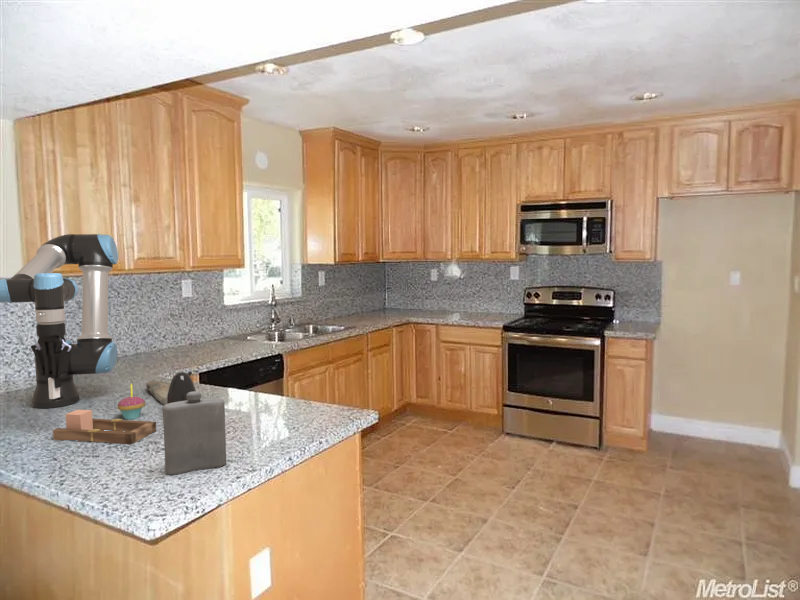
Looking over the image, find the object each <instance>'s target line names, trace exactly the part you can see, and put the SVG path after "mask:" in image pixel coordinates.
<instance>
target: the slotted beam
mask: <svg viewBox="0 0 800 600" xmlns="http://www.w3.org/2000/svg"><path fill="white" fill-rule="evenodd" d="M92 420H93V429H92V430H85V429H66V428H63V427H58V428H55V429H53V430H52V436H53V438H52V439H55V440H54V441H64V440H78V441H77V442H82V441H92V442H91V443H100V442H107V443H106V444H117V443H120V444H121V445H133V444H135V443H137V442H138V441H141V440H143V439H144V438H147V437H148V436H150V435H151V434H153V433H155V432H157V421H148V420H147V421H146V420H132V419H121V418H113V419H111V418H110V419H109V418H108V419H107V418H92ZM104 430H112V431H104ZM123 431H125V432H123ZM140 439H141V440H140Z"/></svg>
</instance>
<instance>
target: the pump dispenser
mask: <svg viewBox="0 0 800 600" xmlns="http://www.w3.org/2000/svg"><path fill="white" fill-rule="evenodd" d="M192 374H193V372H192V371H189V372H188V373H187V372H183V371H179V372H177V373H175V374H174V376H173V377H172V379H171V381H170V382H169V383H170V386H169V390H168V395H167V403H166V404H169V403H173V402H179V401H186V400H187V397H186V395H187V394H188V393H189V392H193V391H197V390H196V386H195V384H194V382H193V379H192V377H191V376H192Z"/></svg>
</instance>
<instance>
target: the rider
mask: <svg viewBox="0 0 800 600" xmlns="http://www.w3.org/2000/svg"><path fill="white" fill-rule="evenodd" d="M92 419H93V410H92V409H76V410H73V411H70V412H67V413H66V414H65V426H66V429H85V430H92V429H93V420H92Z"/></svg>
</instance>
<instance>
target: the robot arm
mask: <svg viewBox="0 0 800 600" xmlns="http://www.w3.org/2000/svg"><path fill="white" fill-rule="evenodd" d="M118 252H119V251H118V247H117V245H116V241H115V239H114V238H113V237H112V236H111V235H110V234H100V233H93V234H92V233H91V234H90V233H89V234H87V233H86V234H85V233H84V234H78V233H77V234H75V233H74V234H73V233H69V234H64V235H59V236H57V237H53V238H52V239H49V240H48V241H47V242H44V243H43V244H41V246H39V247H38V249H37V250H36V253H35V255H34V256H33V257H32V258H31V259H30V260H29V261H28V262H27V263H26V264H25V265H24V266H23V267H21V268H20V269H19V270H18V271H17V272H16V273H15V274H14V275H13V276H12V277H11V278H3V279H1V278H0V303H6V304H7V303H10V304H12V303H13V304H14V303H15V304H16V303H18V304H19V303H35V305H34V308H35V321H36V323H37V324H36V326H35V327H36V329H35V330H36V336H37V337H38V340H37V343H35V344H33V345H31V346H30V348H31V351H32V352H33V353H34V366H35V367H34V368H35V378H36V387H35V389H34V393H33V397H32V398H31V406H32V408H35V409H51V408H52V409H54V408H60V407H66V406H69V405H73V404H75V403H79V402H80V399H81V397H80V393H79V392H78V389H77V386H76V384H75V382H74V376H75V375H94V374H96V375H99V374H106V373H110V372H111V371H112V370H113V369H114V367H115V366H116V362H117V357H118V345H117V343H116V342H114V341H113V338H112V336H111V335H109V333H108V326H109V324H108V323H109V322H108V321H109V320H108V318H109V316H108V315H109V310H108V309H109V274H110V273H111V271H113V269H114V268H113V267H114V265H116V264H118V263H119V253H118ZM64 265H78V269H79V270H80V272H82V302H81V303H82V305H81V306H82V308H81V310H82V313H81V315H82V316H81V317H82V318H81V335H80V336H78V337H77V338H76V343H72V340H71V339H70V340H69V339H66V338H65V335H66V333H67V332H66V323H65V321H66V314H65V302H69V301H71V300H73V299H75V297H77V295H78V293H79V285H77V282H75V281H74V280H72V279H70V278H67V277H63V274H62V273H60V272H54V271H55V270H56V269H58V268H61V267H63V266H64Z"/></svg>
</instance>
